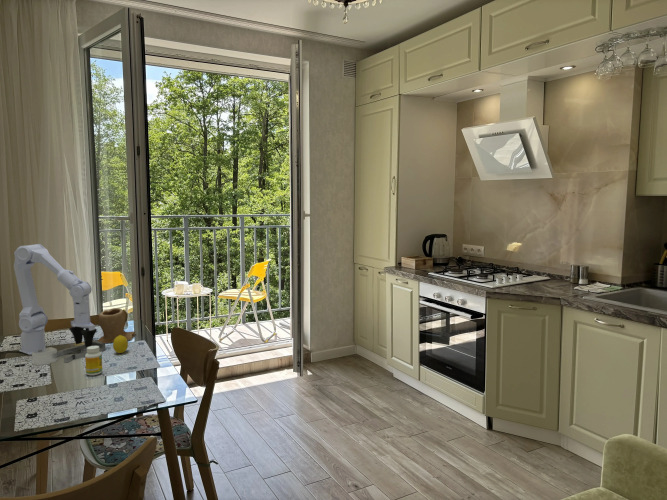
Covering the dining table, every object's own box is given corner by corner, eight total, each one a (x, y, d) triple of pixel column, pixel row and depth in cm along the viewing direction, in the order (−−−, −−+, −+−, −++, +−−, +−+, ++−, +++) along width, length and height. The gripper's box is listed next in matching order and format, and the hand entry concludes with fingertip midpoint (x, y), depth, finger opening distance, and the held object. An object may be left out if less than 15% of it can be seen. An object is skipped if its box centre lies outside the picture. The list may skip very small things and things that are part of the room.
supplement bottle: (86, 371, 175) (84, 346, 174) (102, 369, 177) (101, 344, 176) (85, 376, 170) (84, 350, 169) (102, 374, 172) (101, 348, 171)
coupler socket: (48, 357, 191) (48, 348, 191) (89, 346, 205) (89, 338, 205) (65, 363, 184) (65, 354, 184) (107, 351, 198) (106, 343, 198)
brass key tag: (73, 346, 205) (73, 343, 205) (77, 345, 208) (77, 341, 207) (84, 347, 204) (84, 344, 204) (89, 346, 206) (89, 342, 206)
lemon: (122, 356, 192) (121, 337, 191) (110, 355, 193) (109, 336, 192) (131, 352, 197) (130, 333, 196) (119, 351, 198) (118, 332, 198)
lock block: (32, 364, 183) (31, 351, 183) (51, 359, 189) (50, 346, 189) (38, 366, 181) (37, 353, 181) (57, 361, 187) (56, 348, 186)
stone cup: (97, 348, 204) (95, 313, 202) (98, 340, 214) (97, 307, 213) (136, 343, 210) (134, 310, 208) (135, 336, 220) (134, 304, 219)
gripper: (62, 312, 196) (64, 344, 197) (81, 316, 188) (83, 350, 189) (79, 308, 202) (81, 340, 203) (99, 313, 194) (100, 345, 195)
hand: (83, 344), depth 196 cm, fingers open, 7 cm apart
